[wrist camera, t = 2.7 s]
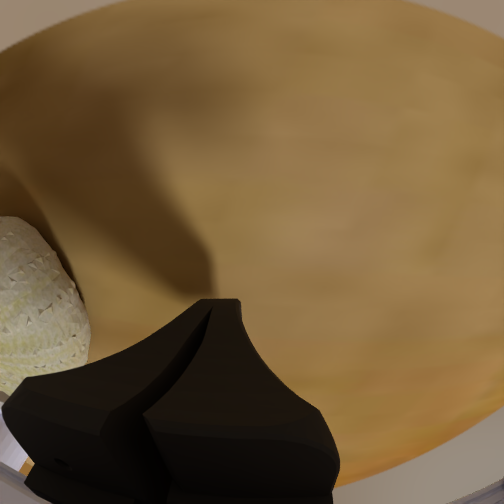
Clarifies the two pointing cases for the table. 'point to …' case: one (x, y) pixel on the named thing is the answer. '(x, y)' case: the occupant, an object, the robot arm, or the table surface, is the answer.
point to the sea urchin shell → (36, 309)
